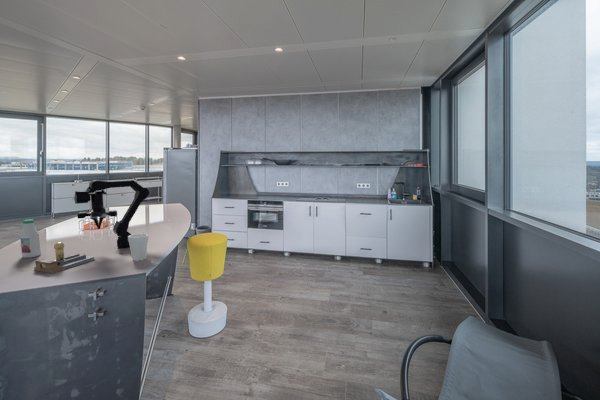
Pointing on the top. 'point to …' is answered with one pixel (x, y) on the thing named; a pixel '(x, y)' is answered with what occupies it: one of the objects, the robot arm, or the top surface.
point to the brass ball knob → (58, 253)
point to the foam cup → (138, 246)
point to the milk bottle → (30, 240)
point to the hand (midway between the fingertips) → (99, 229)
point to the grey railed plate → (61, 263)
